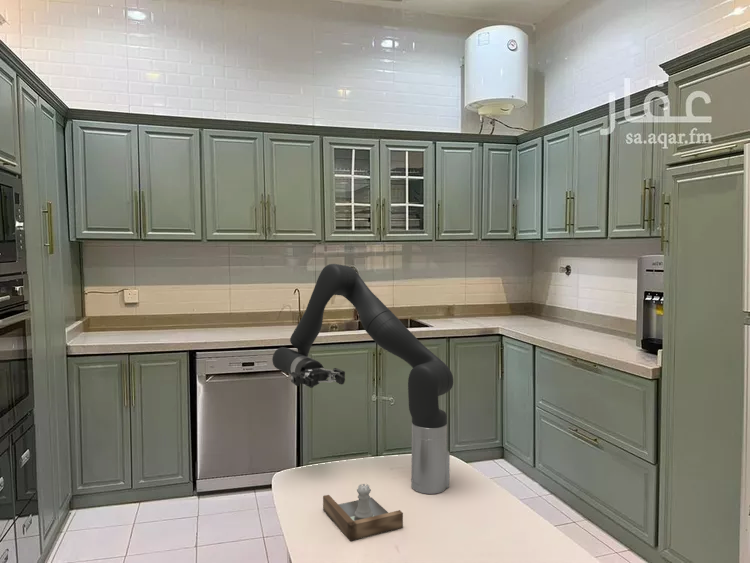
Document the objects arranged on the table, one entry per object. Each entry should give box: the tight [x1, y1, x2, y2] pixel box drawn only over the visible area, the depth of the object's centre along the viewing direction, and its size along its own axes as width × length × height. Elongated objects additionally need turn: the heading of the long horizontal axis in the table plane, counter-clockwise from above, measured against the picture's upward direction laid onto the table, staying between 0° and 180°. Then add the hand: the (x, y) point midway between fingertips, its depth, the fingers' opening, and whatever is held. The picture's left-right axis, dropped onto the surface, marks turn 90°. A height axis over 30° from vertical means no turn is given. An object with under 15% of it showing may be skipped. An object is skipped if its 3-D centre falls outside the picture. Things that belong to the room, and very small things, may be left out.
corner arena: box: [322, 494, 404, 542], centre depth 127 cm, size 13×16×4 cm
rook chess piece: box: [354, 483, 373, 521], centre depth 125 cm, size 4×4×8 cm
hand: (327, 382), depth 143 cm, fingers open, 8 cm apart
